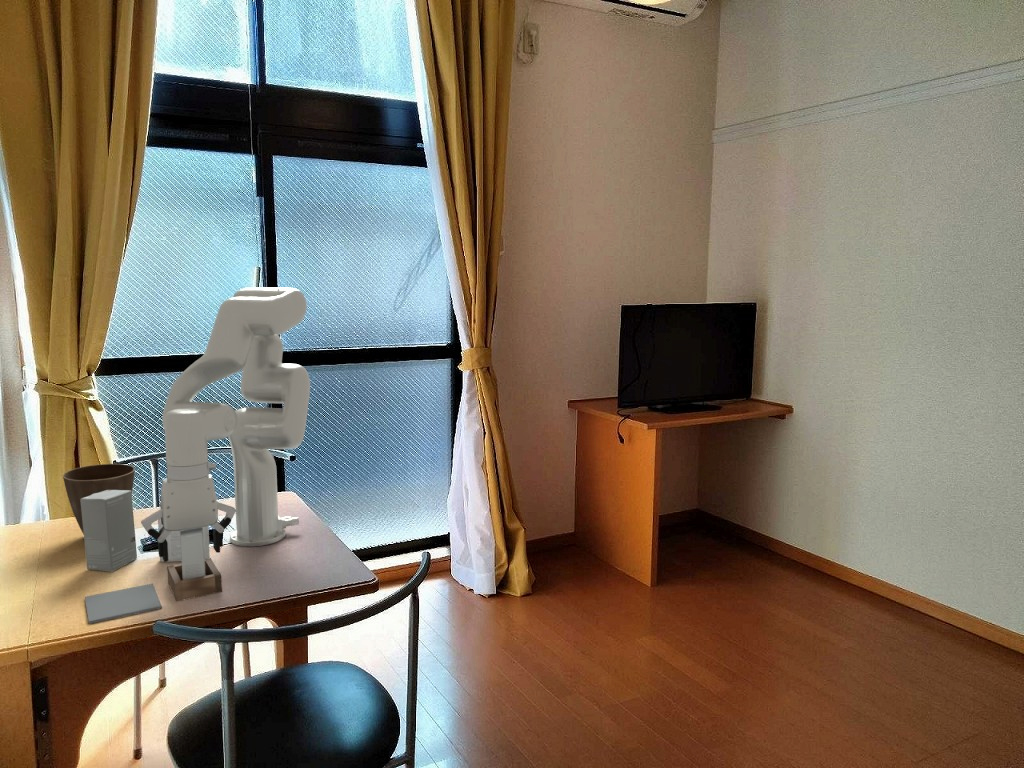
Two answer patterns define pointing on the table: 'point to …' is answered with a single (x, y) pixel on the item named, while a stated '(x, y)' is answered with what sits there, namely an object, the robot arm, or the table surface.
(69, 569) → the table surface
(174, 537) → the photo printer
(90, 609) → the grey mat
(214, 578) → the frame
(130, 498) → the skincare box
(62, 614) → the table surface
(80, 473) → the plant pot
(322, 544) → the table surface
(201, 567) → the skincare box
